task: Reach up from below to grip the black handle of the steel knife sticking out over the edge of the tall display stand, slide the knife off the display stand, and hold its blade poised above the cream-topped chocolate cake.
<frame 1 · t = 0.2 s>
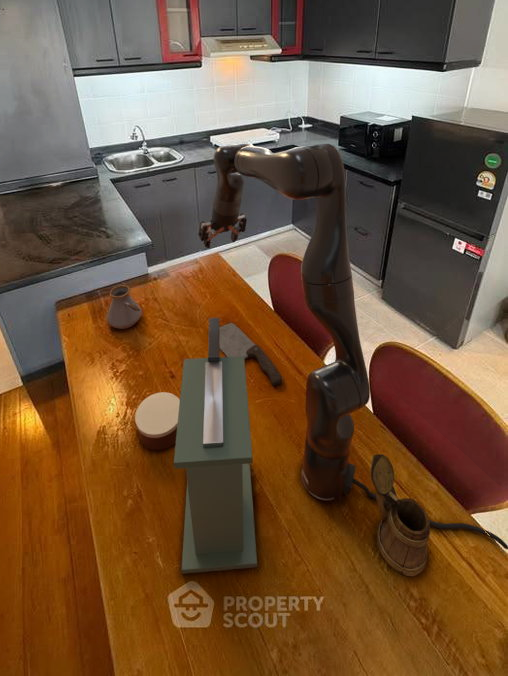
hand: (220, 243, 117), 31 cm above the table, tool tilted 20°, fingers open, 8 cm apart
wooden mug: (390, 536, 76), on the table
cake: (161, 428, 96), on the table
cleaver: (245, 355, 117), on the table
knife: (214, 365, 74), point 32 cm above the table, touching display stand
display stand: (219, 465, 88), on the table
coffee pot: (131, 329, 127), on the table
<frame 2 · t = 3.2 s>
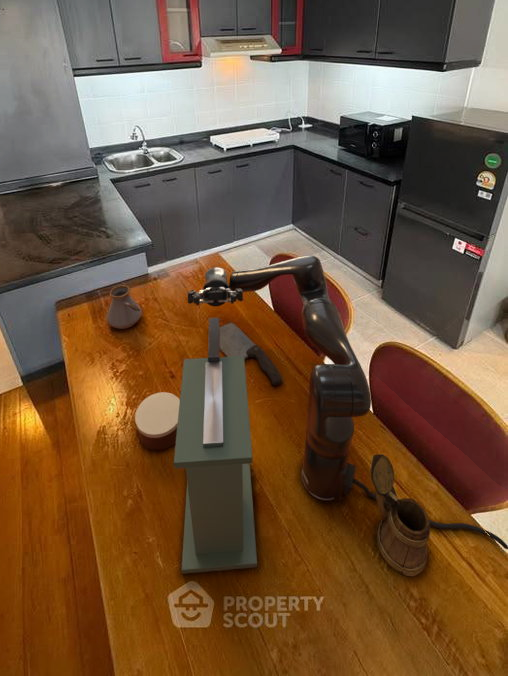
hand: (214, 300, 93), 31 cm above the table, tool pointing upward, fingers open, 8 cm apart
nothing on the table moved.
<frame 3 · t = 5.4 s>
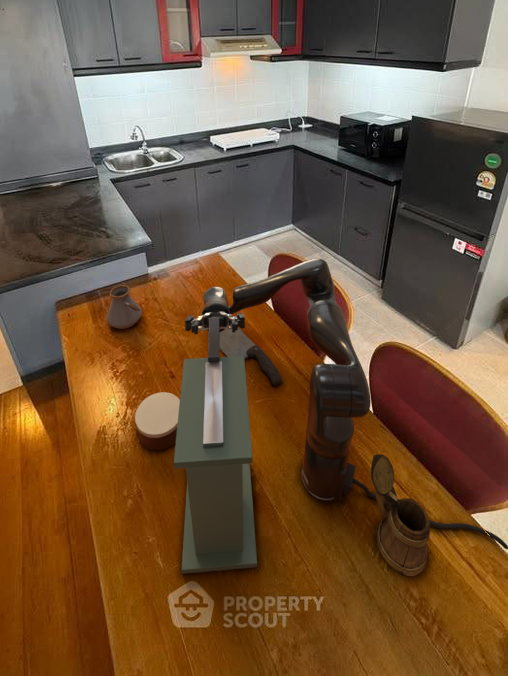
hand: (214, 328, 85), 30 cm above the table, tool pointing upward, fingers open, 8 cm apart
nothing on the table moved.
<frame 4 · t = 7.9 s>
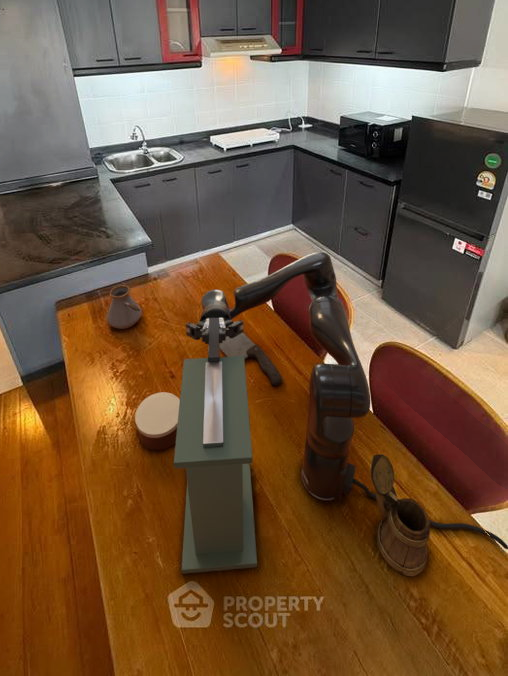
hand: (213, 338, 77), 35 cm above the table, tool pointing upward, fingers closed on knife, 2 cm apart
knife: (214, 365, 74), point 32 cm above the table, touching gripper, display stand
everything else where it was.
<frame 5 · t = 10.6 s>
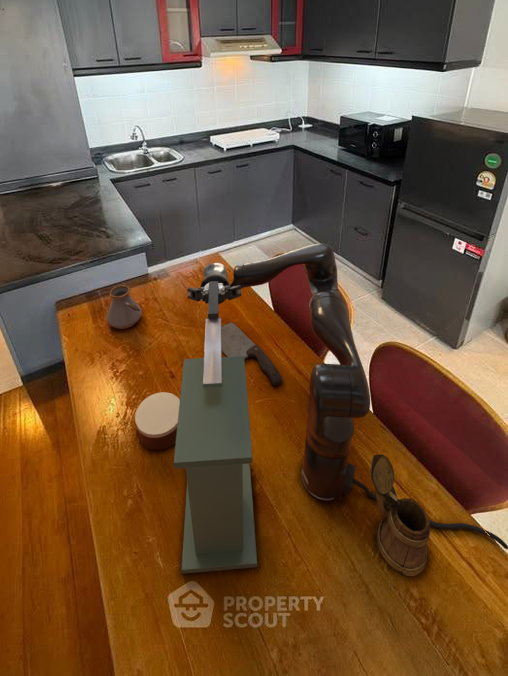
hand: (213, 298, 82), 38 cm above the table, tool pointing upward, fingers closed on knife
knife: (213, 321, 79), point 36 cm above the table, touching gripper
everything else where it was.
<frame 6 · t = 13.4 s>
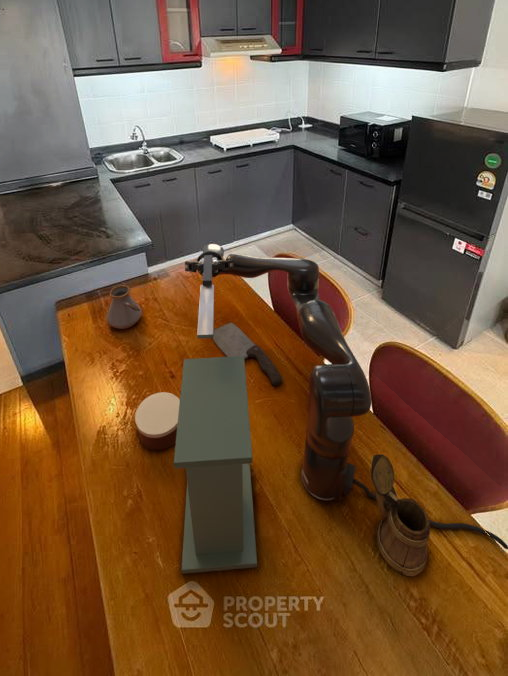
hand: (207, 268, 92), 38 cm above the table, tool pointing upward, fingers closed on knife
knife: (207, 288, 90), point 36 cm above the table, touching gripper
everything else where it was.
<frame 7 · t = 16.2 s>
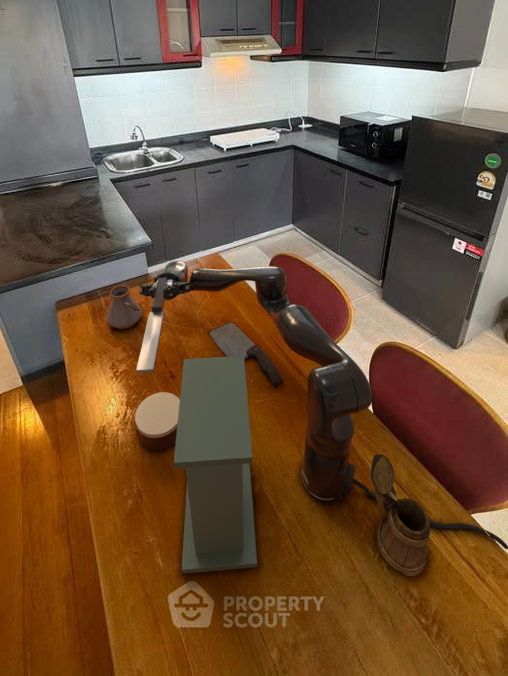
hand: (158, 293, 89), 35 cm above the table, tool pointing upward, fingers closed on knife, 2 cm apart
knife: (157, 315, 86), point 33 cm above the table, touching gripper
everything else where it was.
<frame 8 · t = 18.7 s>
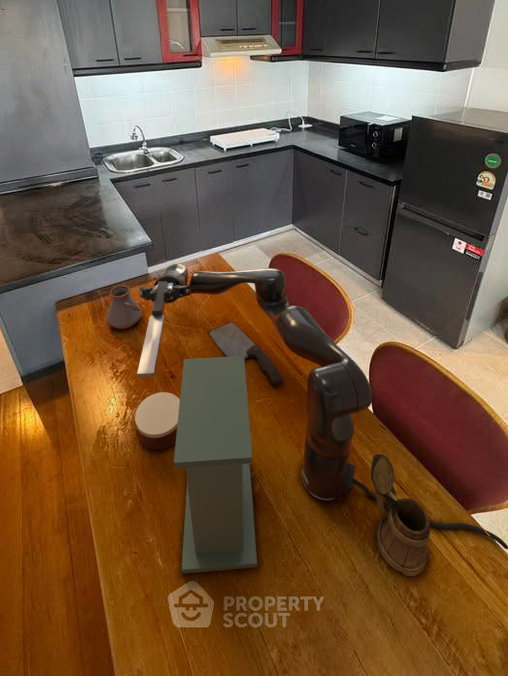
hand: (159, 296, 89), 34 cm above the table, tool pointing upward, fingers closed on knife, 2 cm apart
knife: (157, 318, 86), point 32 cm above the table, touching gripper
everything else where it was.
at the end: the gripper is holding knife; knife touching gripper; knife inside the target area on the cake (0.4 cm from its centre), point 31.7 cm above the cake's base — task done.
